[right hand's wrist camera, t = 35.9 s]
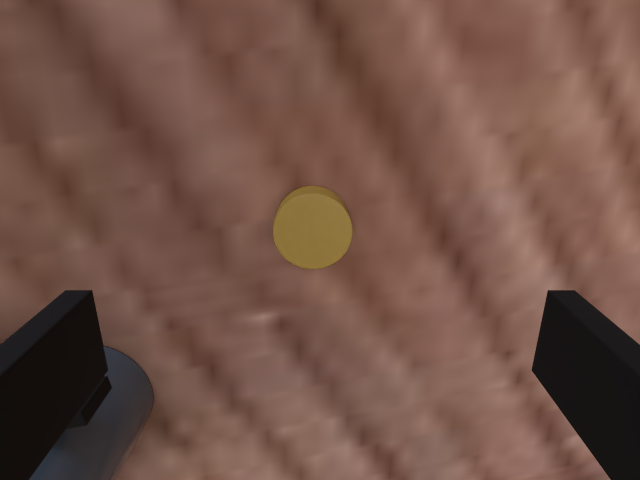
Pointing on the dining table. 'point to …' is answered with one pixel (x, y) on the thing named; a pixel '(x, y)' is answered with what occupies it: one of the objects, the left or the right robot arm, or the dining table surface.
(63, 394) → the right robot arm
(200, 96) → the dining table surface
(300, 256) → the cap
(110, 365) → the bottle
